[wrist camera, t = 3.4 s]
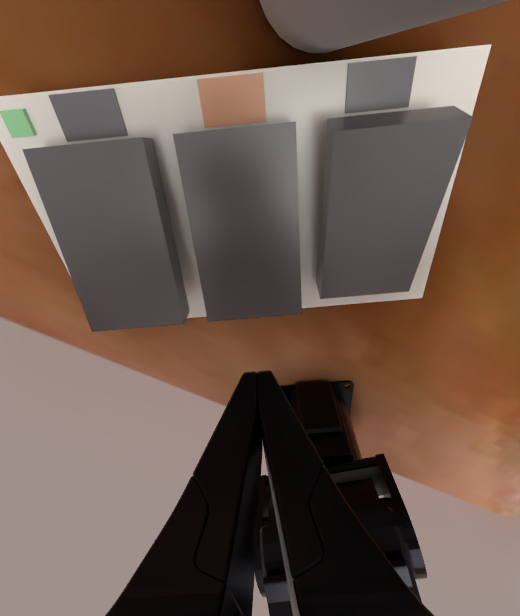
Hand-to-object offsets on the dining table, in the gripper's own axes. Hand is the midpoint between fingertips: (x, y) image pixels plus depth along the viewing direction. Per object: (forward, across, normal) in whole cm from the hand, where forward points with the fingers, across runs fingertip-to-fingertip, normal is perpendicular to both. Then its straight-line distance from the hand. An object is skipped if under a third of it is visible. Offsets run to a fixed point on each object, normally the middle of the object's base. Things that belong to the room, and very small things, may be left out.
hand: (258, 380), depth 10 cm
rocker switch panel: (+10, 0, -3) cm, 10 cm away
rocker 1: (+5, +5, -3) cm, 8 cm away
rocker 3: (+5, -5, -3) cm, 8 cm away
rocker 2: (+5, 0, -3) cm, 6 cm away
